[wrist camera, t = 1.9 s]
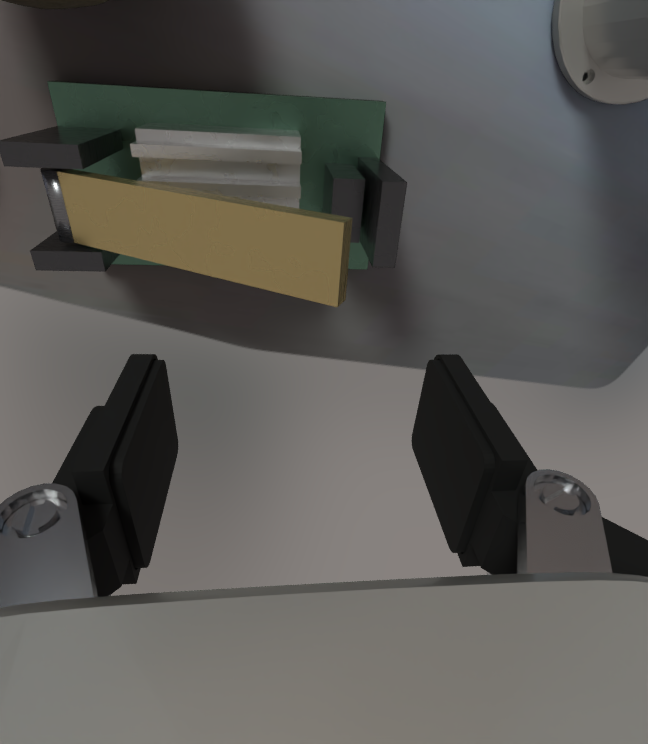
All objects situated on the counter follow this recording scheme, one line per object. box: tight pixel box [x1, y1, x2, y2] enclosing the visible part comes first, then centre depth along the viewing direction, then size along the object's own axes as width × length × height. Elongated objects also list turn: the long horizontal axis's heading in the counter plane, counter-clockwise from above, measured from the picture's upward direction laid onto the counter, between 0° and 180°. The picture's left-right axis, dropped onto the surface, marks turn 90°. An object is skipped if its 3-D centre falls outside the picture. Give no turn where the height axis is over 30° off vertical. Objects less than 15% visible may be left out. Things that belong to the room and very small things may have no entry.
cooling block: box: [0, 81, 407, 271], centre depth 30 cm, size 22×12×10 cm, turn 87°
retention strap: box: [40, 168, 352, 307], centre depth 24 cm, size 19×4×2 cm
